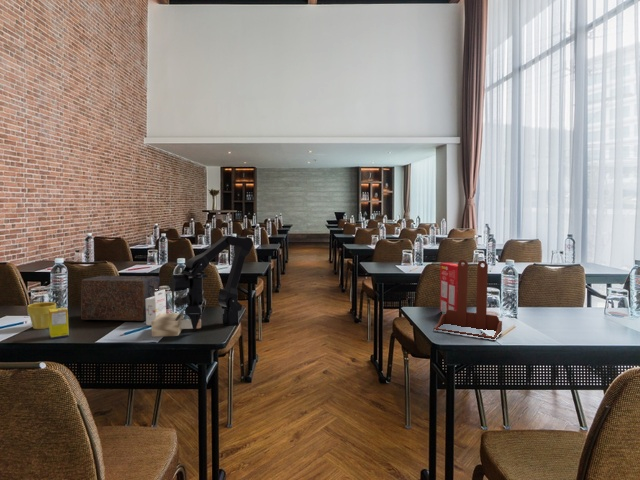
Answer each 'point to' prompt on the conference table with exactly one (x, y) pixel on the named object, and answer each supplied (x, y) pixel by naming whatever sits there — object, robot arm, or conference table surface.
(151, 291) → the decorative box
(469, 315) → the hanging shelf
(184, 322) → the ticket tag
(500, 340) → the conference table surface
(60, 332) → the supplement box
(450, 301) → the food packaging
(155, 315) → the ink cartridge box
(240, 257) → the robot arm
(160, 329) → the tan box with rod
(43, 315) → the plant pot
